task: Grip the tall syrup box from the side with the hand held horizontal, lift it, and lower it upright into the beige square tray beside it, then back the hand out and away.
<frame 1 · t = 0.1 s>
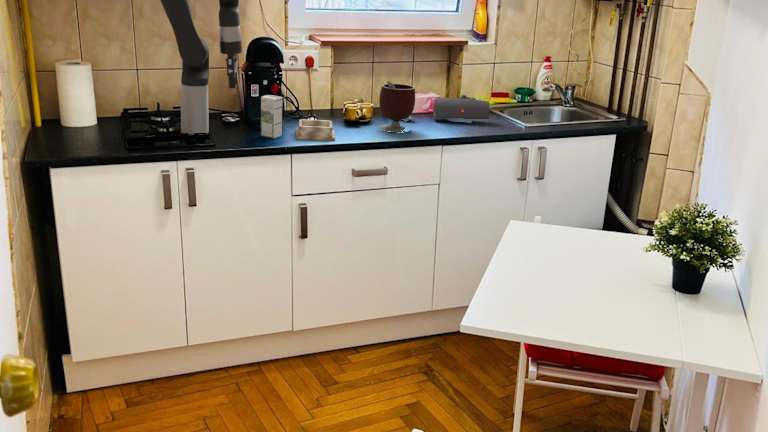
hand: (233, 86, 273), 17 cm above the table, tool pointing down, fingers open, 8 cm apart
bluetooth speaker: (460, 122, 325), on the table
pacifier: (405, 121, 321), on the table
beige square tray: (315, 135, 284), on the table
tin: (356, 120, 315), on the table
syrup box: (271, 136, 279), on the table
mate gourd: (394, 130, 302), on the table
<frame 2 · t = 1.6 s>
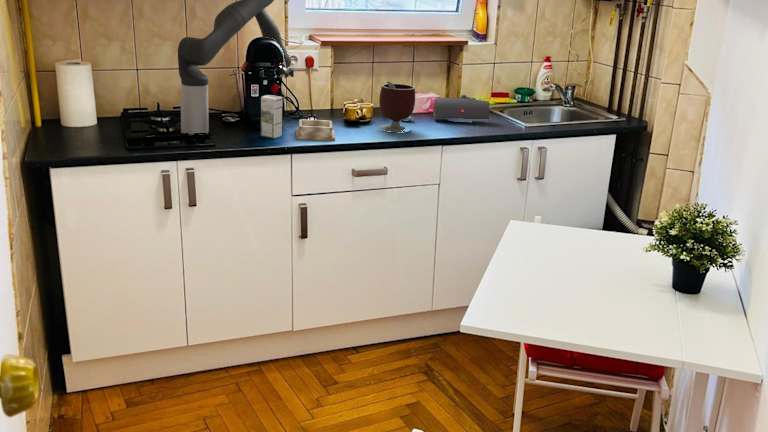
hand: (274, 74, 283), 20 cm above the table, tool horizontal, fingers open, 8 cm apart
nothing on the table moved.
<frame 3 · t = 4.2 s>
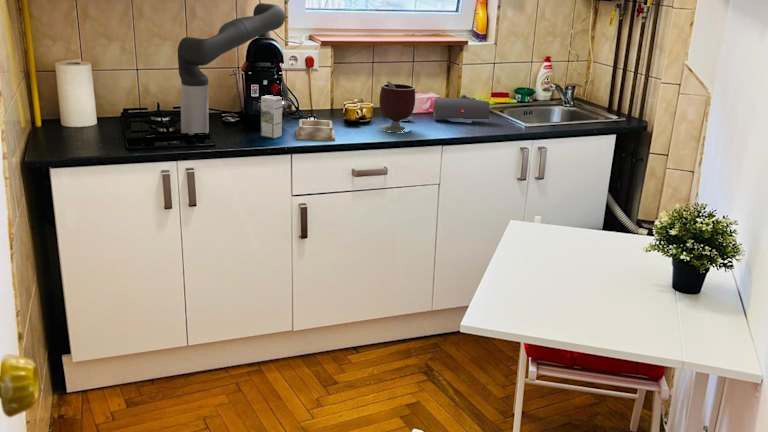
hand: (272, 109, 282), 8 cm above the table, tool horizontal, fingers open, 8 cm apart
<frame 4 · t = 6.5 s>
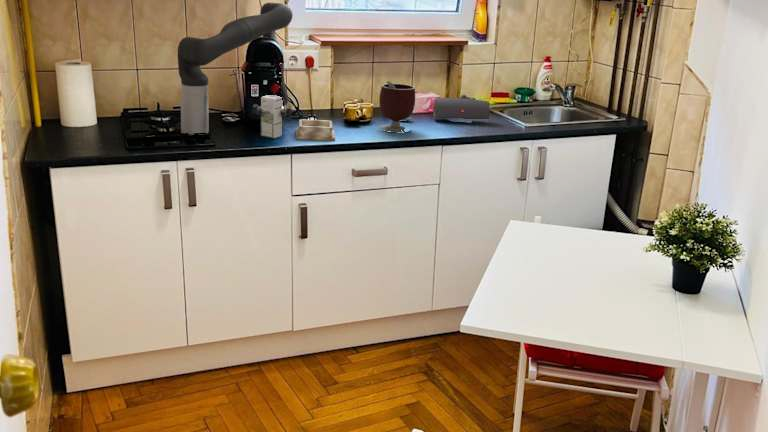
hand: (271, 113, 274), 9 cm above the table, tool horizontal, fingers closed on syrup box, 7 cm apart
syrup box: (271, 136, 279), on the table, touching gripper
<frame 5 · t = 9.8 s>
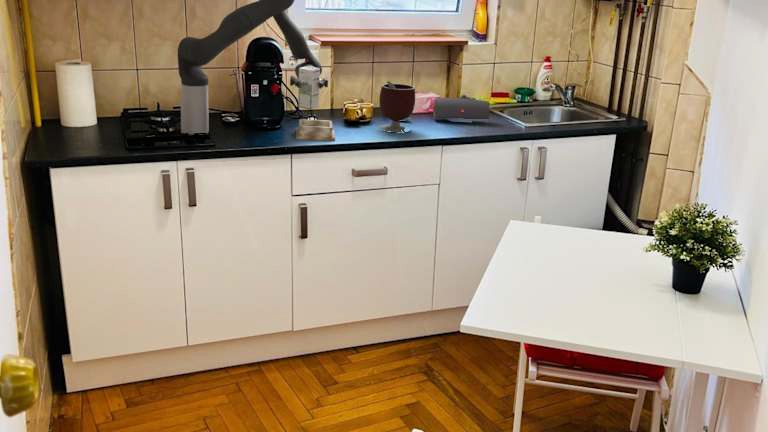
hand: (309, 85, 276), 19 cm above the table, tool horizontal, fingers closed on syrup box, 7 cm apart
syrup box: (308, 108, 280), point 10 cm above the table, touching gripper
when the fingers open (11 cm above the table, at t = 13.1 s): syrup box drops 2 cm, resting on beige square tray.
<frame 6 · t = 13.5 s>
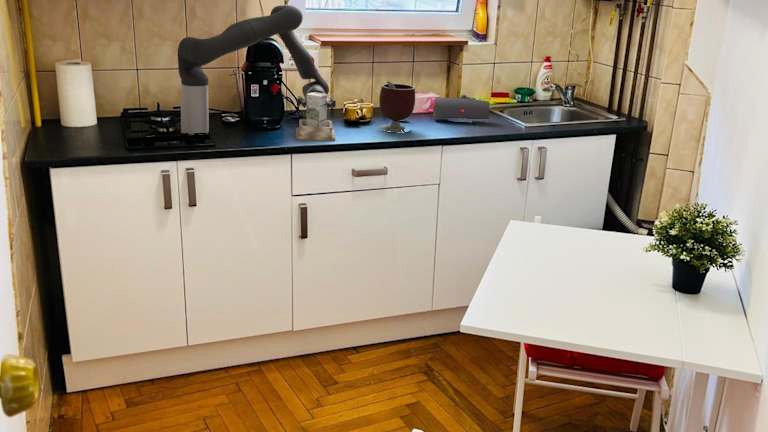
hand: (316, 105, 279), 11 cm above the table, tool horizontal, fingers open, 8 cm apart
syrup box: (315, 133, 284), point 1 cm above the table, touching beige square tray
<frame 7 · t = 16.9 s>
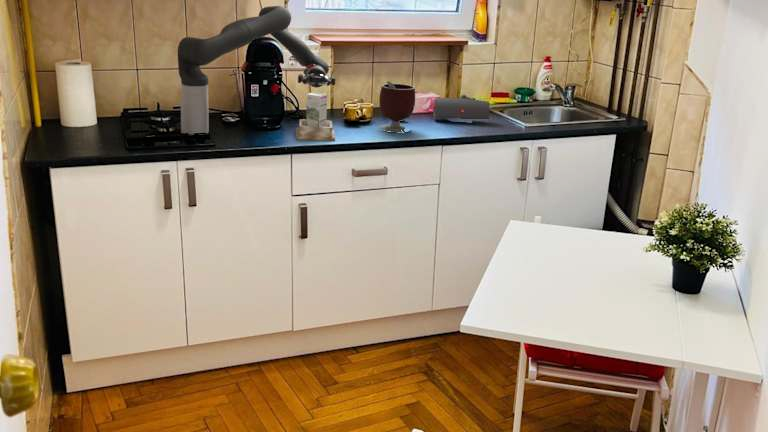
hand: (316, 82, 289), 18 cm above the table, tool horizontal, fingers open, 8 cm apart
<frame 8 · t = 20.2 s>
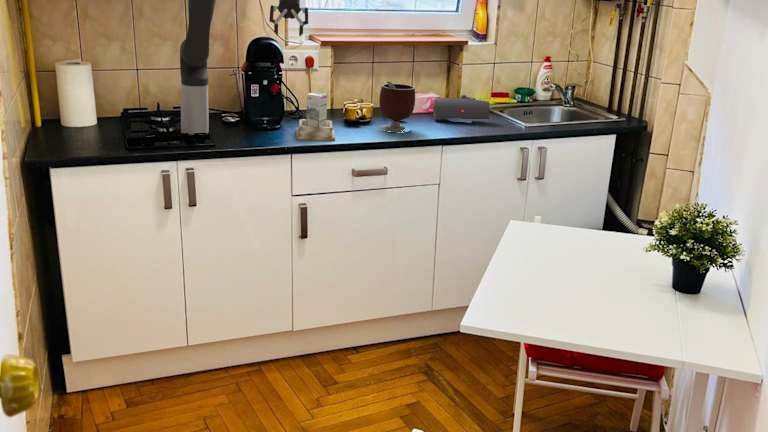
hand: (288, 35, 286), 34 cm above the table, tool pointing down, fingers open, 8 cm apart
at the end: syrup box 0.2 cm off-centre on the beige square tray, point 0.8 cm above the beige square tray's base; syrup box tilted 0°; the gripper is holding nothing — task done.
